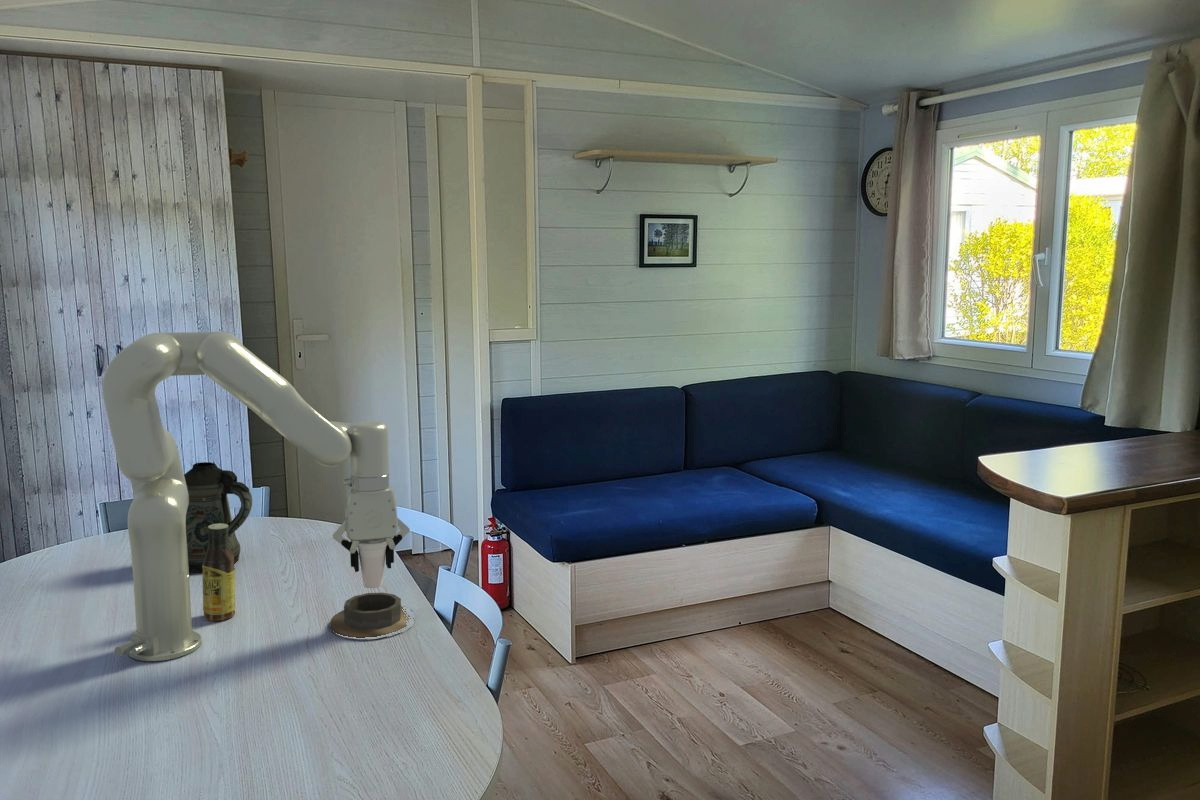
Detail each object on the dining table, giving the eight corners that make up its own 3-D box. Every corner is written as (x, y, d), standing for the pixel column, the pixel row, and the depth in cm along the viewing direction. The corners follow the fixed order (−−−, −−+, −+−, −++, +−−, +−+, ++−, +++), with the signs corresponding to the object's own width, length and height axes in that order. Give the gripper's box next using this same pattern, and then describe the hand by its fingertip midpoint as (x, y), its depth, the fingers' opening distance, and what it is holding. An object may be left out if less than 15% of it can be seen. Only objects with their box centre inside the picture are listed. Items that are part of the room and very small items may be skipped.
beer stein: (168, 556, 224) (163, 459, 220) (251, 547, 232) (247, 454, 228) (167, 577, 209) (161, 474, 205) (256, 567, 217) (251, 467, 214)
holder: (383, 645, 174) (383, 623, 173) (312, 631, 180) (312, 610, 179) (430, 615, 190) (430, 594, 189) (363, 603, 196) (363, 583, 195)
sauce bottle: (197, 619, 185) (192, 526, 182) (222, 609, 191) (217, 519, 188) (218, 625, 182) (214, 531, 180) (243, 615, 188) (239, 524, 185)
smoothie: (384, 591, 180) (383, 524, 178) (352, 590, 181) (351, 523, 178) (392, 580, 187) (391, 515, 185) (361, 579, 187) (360, 514, 185)
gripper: (327, 490, 174) (330, 579, 177) (415, 483, 180) (417, 569, 183) (324, 481, 181) (327, 567, 184) (410, 475, 187) (411, 558, 190)
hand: (372, 567), depth 183 cm, fingers closed on smoothie, 5 cm apart
